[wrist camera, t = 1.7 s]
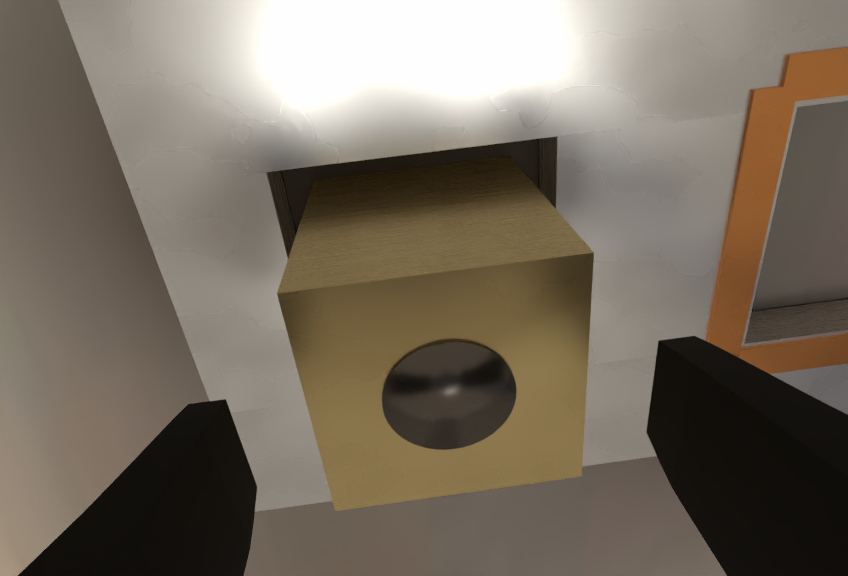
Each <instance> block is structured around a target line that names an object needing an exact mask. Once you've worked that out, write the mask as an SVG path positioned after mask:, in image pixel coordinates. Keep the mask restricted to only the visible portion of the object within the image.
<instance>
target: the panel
mask: <svg viewBox="0 0 848 576" xmlns="http://www.w3.org/2000/svg"><path fill="white" fill-rule="evenodd" d="M58 1H59V3H60V6H61V9H62V11H63V14H64V17H65V19H66V22H67V25H68V27H69V30H70V33H71V35H72V38H73V41H74V43H75V46H76V49H77V51H78V54H79V56H80V59H81V62H82V64H83V67H84V70H85V72H86V75H87V78H88V80H89V83H90V86H91V88H92V91H93V94H94V96H95V99H96V101H97V104H98V107H99V109H100V112H101V115H102V117H103V120H104V123H105V125H106V128H107V131H108V133H109V136H110V139H111V141H112V144H113V146H114V149H115V152H116V154H117V157H118V160H119V162H120V165H121V168H122V170H123V173H124V176H125V178H126V181H127V184H128V186H129V189H130V192H131V194H132V197H133V199H134V202H135V205H136V207H137V210H138V213H139V215H140V218H141V221H142V223H143V226H144V229H145V231H146V234H147V237H148V239H149V242H150V244H151V247H152V250H153V252H154V255H155V258H156V260H157V263H158V266H159V268H160V271H161V274H162V276H163V279H164V282H165V284H166V287H167V290H168V292H169V295H170V297H171V300H172V303H173V305H174V308H175V311H176V313H177V316H178V319H179V321H180V324H181V327H182V329H183V332H184V335H185V337H186V340H187V342H188V345H189V348H190V350H191V353H192V356H193V358H194V361H195V364H196V366H197V369H198V372H199V374H200V377H201V380H202V382H203V385H204V388H205V390H206V393H207V395H208V398H209V401H216V400H223V399H226V401H227V404H228V407H229V409H230V412H231V415H232V418H233V421H234V423H235V426H236V429H237V432H238V434H239V437H240V440H241V443H242V446H243V448H244V451H245V454H246V457H247V460H248V462H249V465H250V468H251V471H252V473H253V476H254V479H255V482H256V485H257V494H256V504H255V512H256V511H263V510H270V509H278V508H285V507H292V506H299V505H307V504H314V503H321V502H328V501H332V497H331V494H330V490H329V486H328V483H327V479H326V475H325V471H324V468H323V464H322V460H321V456H320V453H319V449H318V445H317V441H316V438H315V434H314V430H313V427H312V423H311V419H310V415H309V412H308V408H307V404H306V400H305V397H304V393H303V389H302V385H301V382H300V378H299V374H298V371H297V367H296V363H295V359H294V356H293V352H292V348H291V344H290V341H289V337H288V333H287V329H286V326H285V322H284V318H283V315H282V311H281V307H280V303H279V300H278V296H277V292H278V289H279V286H280V283H281V280H282V276H283V273H284V270H285V267H286V264H287V261H288V258H289V255H290V252H291V249H292V246H293V243H294V240H295V237H296V233H295V229H294V225H293V220H292V216H291V212H290V208H289V203H288V199H287V195H286V190H285V186H284V182H283V178H282V173H281V170H288V169H296V168H304V167H312V166H320V165H329V164H337V163H345V162H353V161H361V160H369V159H377V158H386V157H394V156H402V155H410V154H418V153H426V152H434V151H443V150H451V149H459V148H467V147H475V146H483V145H491V144H500V143H508V142H516V141H524V140H532V139H539V190H540V191H541V193H542V194H543V195H544V196H545V197H546V198H547V199H548V201H549V202H550V203H551V204H552V205H553V206H554V207H555V209H556V210H557V211H558V212H559V213H560V214H561V215H562V217H563V218H564V219H565V220H566V221H567V222H568V223H569V225H570V226H571V227H572V228H573V229H574V230H575V231H576V233H577V234H578V235H579V236H580V237H581V238H582V239H583V240H584V242H585V243H586V244H587V245H588V246H589V247H590V248H591V250H592V251H593V252H594V263H593V281H592V299H591V317H590V335H589V353H588V371H587V389H586V407H585V425H584V443H583V461H582V466H588V465H595V464H603V463H610V462H617V461H624V460H632V459H639V458H646V457H653V456H657V455H656V453H655V450H654V448H653V446H652V444H651V442H650V439H649V437H648V435H647V433H646V431H647V423H648V416H649V408H650V401H651V393H652V385H653V378H654V370H655V363H656V355H657V348H658V341H659V340H666V339H674V338H681V337H688V336H696V337H698V338H700V339H703V340H705V341H707V342H709V343H711V344H713V345H715V346H717V347H719V348H721V349H723V350H725V351H727V352H729V353H731V354H733V355H735V356H737V357H738V358H740V359H742V360H744V361H746V362H748V363H750V364H752V365H754V366H756V367H757V368H759V369H761V370H763V371H765V372H767V373H769V374H771V375H772V376H774V377H776V378H778V379H780V380H782V381H784V382H786V383H788V384H789V385H791V386H793V387H795V388H797V389H799V390H801V391H803V392H805V393H807V394H808V395H810V396H812V397H814V398H816V399H818V400H820V401H822V402H824V403H826V404H828V405H830V406H832V407H834V408H836V409H838V410H840V411H842V412H844V413H846V414H848V299H844V300H836V301H829V302H821V303H814V304H806V305H798V306H791V307H783V308H776V309H768V310H761V311H753V312H752V307H753V303H754V298H755V294H756V289H757V285H758V280H759V276H760V272H761V267H762V263H763V258H764V254H765V249H766V245H767V240H768V236H769V231H770V227H771V222H772V218H773V214H774V209H775V205H776V200H777V196H778V191H779V187H780V182H781V178H782V173H783V169H784V164H785V160H786V155H787V151H788V147H789V142H790V138H791V133H792V129H793V124H794V120H795V115H796V111H797V107H801V106H809V105H817V104H825V103H833V102H842V101H848V0H58Z"/></svg>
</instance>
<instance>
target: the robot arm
mask: <svg viewBox="0 0 848 576" xmlns="http://www.w3.org/2000/svg"><path fill="white" fill-rule="evenodd" d="M646 433H647V435H648V437H649V439H650V442H651V444H652V446H653V448H654V450H655V453H656V455H657V457H658V459H659V462H660V464H661V466H662V468H663V470H664V472H665V474H666V476H667V478H668V480H669V482H670V484H671V486H672V488H673V490H674V491H675V493H676V495H677V496H678V498H679V500H680V501H681V503H682V505H683V506H684V508H685V509H686V511H687V513H688V514H689V516H690V517H691V519H692V521H693V522H694V524H695V525H696V527H697V529H698V530H699V532H700V533H701V535H702V537H703V538H704V540H705V541H706V543H707V544H708V546H709V548H710V549H711V551H712V552H713V554H714V555H715V557H716V559H717V560H718V562H719V563H720V565H721V566H722V568H723V570H724V571H725V573H726V574H727V576H848V414H846V413H844V412H842V411H840V410H838V409H836V408H834V407H832V406H830V405H828V404H826V403H824V402H822V401H820V400H818V399H816V398H814V397H812V396H810V395H808V394H807V393H805V392H803V391H801V390H799V389H797V388H795V387H793V386H791V385H789V384H788V383H786V382H784V381H782V380H780V379H778V378H776V377H774V376H772V375H771V374H769V373H767V372H765V371H763V370H761V369H759V368H757V367H756V366H754V365H752V364H750V363H748V362H746V361H744V360H742V359H740V358H738V357H737V356H735V355H733V354H731V353H729V352H727V351H725V350H723V349H721V348H719V347H717V346H715V345H713V344H711V343H709V342H707V341H705V340H703V339H700V338H698V337H696V336H688V337H681V338H674V339H666V340H659V341H658V348H657V355H656V363H655V370H654V378H653V385H652V393H651V401H650V408H649V416H648V423H647V431H646ZM256 494H257V485H256V482H255V479H254V476H253V473H252V471H251V468H250V465H249V462H248V460H247V457H246V454H245V451H244V448H243V446H242V443H241V440H240V437H239V434H238V432H237V429H236V426H235V423H234V421H233V418H232V415H231V412H230V409H229V407H228V404H227V401H226V399H223V400H216V401H209V402H201V403H194V404H188V405H187V406H186V407H185V408H184V409H183V410H182V411H181V412H180V413H179V414H178V415H177V416H176V417H175V418H174V419H173V420H172V421H171V422H170V423H169V424H168V425H167V426H166V427H165V428H164V429H163V430H162V431H161V432H160V433H159V435H158V436H157V437H156V438H155V439H154V440H153V441H152V442H151V443H150V444H149V445H148V446H147V447H146V448H145V449H144V450H143V451H142V452H141V454H140V455H139V456H138V457H137V458H136V459H135V460H134V461H133V462H132V463H131V464H130V465H129V466H128V467H127V468H126V469H125V470H124V471H123V472H122V473H121V474H120V475H119V477H118V478H117V479H116V480H115V481H114V482H113V483H112V484H111V485H110V486H109V487H108V488H107V489H106V490H105V491H104V492H103V493H102V494H101V495H100V496H99V497H98V498H97V499H96V500H95V501H94V502H93V503H92V504H91V505H90V506H89V507H88V508H87V510H86V511H85V512H84V513H83V514H81V515H80V516H79V517H78V518H77V519H76V520H75V521H74V522H73V523H72V524H71V525H70V526H69V527H68V528H67V529H66V530H65V531H64V532H63V533H62V534H61V535H60V536H59V537H58V538H57V539H56V540H54V541H53V542H52V543H51V544H50V545H49V546H48V547H47V548H46V549H45V550H44V551H43V552H42V553H41V554H40V555H39V556H38V557H37V558H36V559H35V560H34V561H33V562H32V563H31V564H30V565H29V566H27V567H26V568H25V569H24V570H23V571H22V572H21V573H20V574H19V575H18V576H243V575H244V571H245V567H246V563H247V559H248V554H249V550H250V544H251V537H252V529H253V522H254V513H255V504H256Z"/></svg>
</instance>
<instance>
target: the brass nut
mask: <svg viewBox="0 0 848 576" xmlns="http://www.w3.org/2000/svg"><path fill="white" fill-rule="evenodd" d="M593 263H594V252H593V251H592V250H591V248H590V247H589V246H588V245H587V244H586V243H585V242H584V240H583V239H582V238H581V237H580V236H579V235H578V234H577V233H576V231H575V230H574V229H573V228H572V227H571V226H570V225H569V223H568V222H567V221H566V220H565V219H564V218H563V217H562V215H561V214H560V213H559V212H558V211H557V210H556V209H555V207H554V206H553V205H552V204H551V203H550V202H549V201H548V199H547V198H546V197H545V196H544V195H543V194H542V193H541V191H540V190H539V189H538V188H537V187H536V186H535V185H534V183H533V182H532V181H531V180H530V179H529V178H528V177H527V176H526V174H525V173H524V172H523V171H522V170H521V169H520V168H519V166H518V165H517V164H516V163H515V162H514V161H513V160H512V158H511V157H510V156H506V157H498V158H490V159H482V160H473V161H465V162H457V163H449V164H441V165H433V166H425V167H417V168H409V169H401V170H393V171H385V172H377V173H369V174H361V175H353V176H345V177H337V178H328V179H320V180H314V182H313V185H312V188H311V191H310V194H309V197H308V200H307V203H306V206H305V209H304V212H303V215H302V218H301V221H300V225H299V228H298V231H297V234H296V237H295V240H294V243H293V246H292V249H291V252H290V255H289V258H288V261H287V264H286V267H285V270H284V273H283V276H282V280H281V283H280V286H279V289H278V292H277V296H278V300H279V303H280V307H281V311H282V315H283V318H284V322H285V326H286V329H287V333H288V337H289V341H290V344H291V348H292V352H293V356H294V359H295V363H296V367H297V371H298V374H299V378H300V382H301V385H302V389H303V393H304V397H305V400H306V404H307V408H308V412H309V415H310V419H311V423H312V427H313V430H314V434H315V438H316V441H317V445H318V449H319V453H320V456H321V460H322V464H323V468H324V471H325V475H326V479H327V483H328V486H329V490H330V494H331V497H332V501H333V505H334V509H335V511H339V510H346V509H353V508H360V507H367V506H374V505H381V504H389V503H396V502H403V501H410V500H417V499H424V498H431V497H439V496H446V495H453V494H460V493H467V492H474V491H481V490H488V489H496V488H503V487H510V486H517V485H524V484H531V483H538V482H546V481H553V480H560V479H567V478H574V477H581V476H582V461H583V443H584V425H585V407H586V389H587V371H588V353H589V335H590V317H591V299H592V281H593Z"/></svg>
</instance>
